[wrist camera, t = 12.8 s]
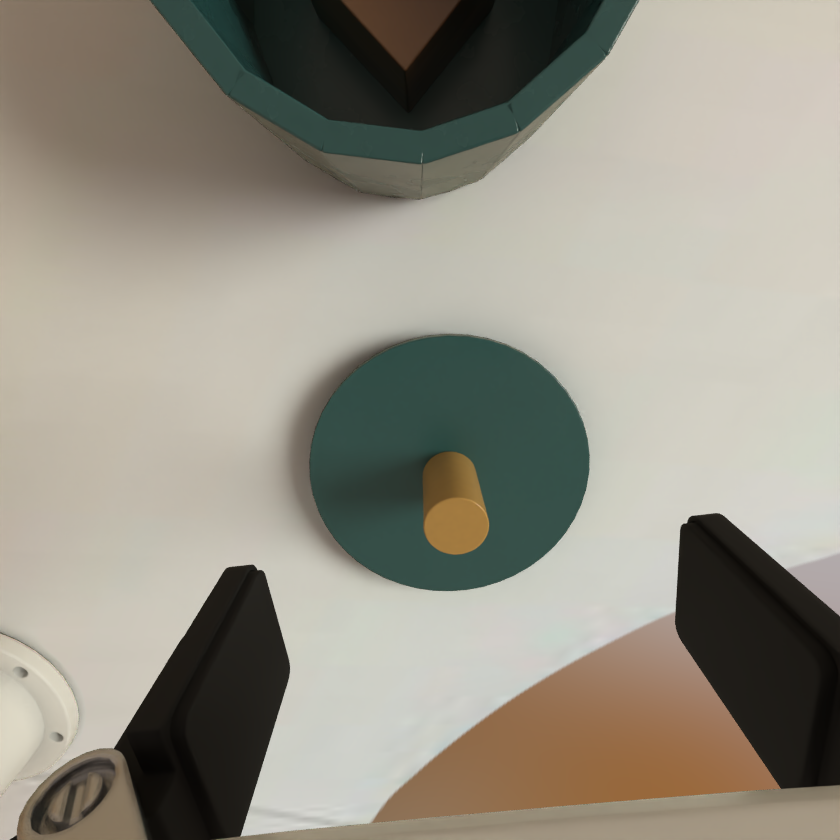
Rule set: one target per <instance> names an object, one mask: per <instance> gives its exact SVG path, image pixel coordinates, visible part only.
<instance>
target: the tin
mask: <svg viewBox="0 0 840 840" xmlns="http://www.w3.org/2000/svg"><path fill="white" fill-rule="evenodd" d="M150 1H151V3H152V4H153V5H154V6H155V8H156V9H157V10H158V11H159V13H160V14H161V15H162V16H163V18H164V19H165V20H166V21H167V22H168V24H169V25H170V26H171V27H172V29H173V30H174V31H175V32H176V34H177V35H178V36H179V37H180V39H181V40H182V41H183V42H184V44H185V45H186V46H187V47H188V49H189V50H190V51H191V52H192V54H193V55H194V56H195V57H196V59H197V60H198V61H199V62H200V63H201V65H202V66H203V67H204V68H205V70H206V71H207V72H208V73H209V75H210V76H211V77H212V78H213V80H214V81H215V82H216V83H217V85H218V86H219V87H220V88H221V90H222V91H223V92H224V93H225V95H227V96H228V97H229V98H230V99H231V100H233V101H234V102H235V103H236V104H238V105H239V106H240V107H241V108H242V109H244V110H245V111H246V112H247V113H249V114H250V115H251V116H252V117H253V118H255V119H256V120H257V121H258V122H259V123H261V124H262V125H263V126H264V127H266V128H267V129H268V130H269V131H270V132H272V133H273V134H274V135H275V136H277V137H278V138H279V139H280V140H281V141H283V142H284V143H285V144H286V145H288V146H289V147H290V148H291V149H292V150H294V151H295V152H296V153H297V154H299V155H300V156H301V157H302V158H303V159H305V160H306V161H308V162H309V163H311V164H313V165H314V166H316V167H318V168H320V169H321V170H323V171H325V172H326V173H328V174H329V175H331V176H332V177H334V178H336V179H338V180H340V181H342V182H343V183H345V184H347V185H348V186H350V187H352V188H354V189H355V190H357V191H360V192H361V193H369V194H377V195H382V196H387V197H396V198H412V199H424V198H427V197H430V196H434V195H438V194H442V193H446V192H450V191H452V190H455V189H457V188H460V187H462V186H465V185H468V184H471V183H474V182H477V181H479V180H481V179H482V178H484V177H485V176H486V175H487V174H488V173H489V172H491V171H492V170H493V169H494V168H495V167H496V166H498V165H499V164H500V163H501V162H503V161H504V160H505V159H506V158H507V157H508V156H509V155H510V154H511V153H513V152H514V151H515V150H516V149H517V148H518V147H519V146H521V145H522V144H523V143H524V142H525V141H526V140H528V139H529V138H530V137H531V136H532V135H533V134H534V133H535V132H536V131H537V129H538V128H539V127H540V126H541V125H542V124H543V123H544V122H545V121H546V120H547V119H548V118H549V117H550V116H551V115H552V114H553V113H554V112H555V111H556V110H557V109H558V108H559V106H560V105H561V104H562V103H563V102H564V101H565V100H566V99H567V98H568V97H569V96H570V95H571V94H572V93H573V92H574V91H575V90H576V89H577V88H578V87H579V86H580V85H581V83H582V82H583V81H584V80H585V79H586V78H587V77H588V76H589V75H590V74H591V73H592V72H593V71H594V70H595V69H596V68H597V67H598V66H599V65H600V64H601V63H602V62H603V60H604V59H605V58H606V57H607V56H608V55H609V53H610V51H611V50H612V48H613V46H614V44H615V43H616V41H617V39H618V37H619V35H620V34H621V32H622V30H623V28H624V27H625V25H626V23H627V21H628V20H629V18H630V16H631V14H632V12H633V11H634V9H635V7H636V5H637V4H638V2H639V0H495V2H494V5H493V8H492V10H491V11H490V13H489V14H488V15H487V16H486V18H485V19H484V20H483V21H482V23H481V24H480V25H479V26H478V28H477V29H476V30H475V31H474V32H473V34H472V35H471V36H470V37H469V39H468V40H467V41H466V42H465V44H464V45H463V46H462V47H461V49H460V50H459V51H458V52H457V54H456V55H455V56H454V57H453V59H452V60H451V61H450V62H449V64H448V65H447V66H446V67H445V68H444V70H443V71H442V72H441V73H440V75H439V76H438V77H437V78H436V80H435V81H434V82H433V83H432V85H431V86H430V87H429V88H428V90H427V91H426V92H425V93H424V95H423V96H422V97H421V98H420V99H419V101H418V102H417V103H416V104H415V106H414V107H413V108H412V109H411V111H410V112H406V110H405V109H404V108H403V107H402V106H401V105H400V104H399V103H398V102H397V101H396V100H395V99H394V98H393V97H392V95H391V94H390V93H389V92H388V91H387V90H386V89H385V88H384V87H383V86H382V85H381V84H380V83H379V81H378V80H377V79H376V78H375V77H374V76H373V75H372V74H371V73H370V72H369V71H368V70H367V69H366V68H365V66H364V65H363V64H362V63H361V62H360V61H359V60H358V59H357V58H356V57H355V56H354V55H353V54H352V53H351V51H350V50H349V49H348V48H347V47H346V46H345V45H344V44H343V43H342V42H341V41H340V40H339V39H338V37H337V36H336V35H335V34H334V33H333V32H332V31H331V30H330V29H329V28H328V27H327V26H326V25H325V24H324V22H323V21H322V20H321V19H320V18H319V17H318V16H317V14H316V11H315V9H314V7H313V4H312V2H311V0H150Z"/></svg>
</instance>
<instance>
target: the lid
mask: <svg viewBox="0 0 840 840" xmlns="http://www.w3.org/2000/svg"><path fill="white" fill-rule="evenodd" d="M589 456H590V455H589V447H588V438H587V435H586V431H585V427H584V424H583V421H582V418H581V416H580V414H579V412H578V409H577V407H576V405H575V403H574V402H573V400H572V399H571V397H570V395H569V394H568V392H567V391H566V389H565V388H564V387H563V386H562V385H561V384H560V382H559V381H558V380H557V379H556V378H555V377H554V376H553V375H552V374H551V373H550V372H549V371H548V370H546V369H545V368H544V367H543V366H542V365H541V364H540V363H539V362H537V361H536V360H534V359H533V358H531V357H529V356H528V355H526V354H525V353H523V352H522V351H519V350H517V349H515V348H513V347H511V346H509V345H507V344H504V343H501V342H498V341H495V340H492V339H489V338H484V337H478V336H473V335H464V334H441V335H430V336H424V337H420V338H416V339H411V340H408V341H405V342H402V343H399V344H397V345H394V346H391V347H389V348H387V349H385V350H384V351H382V352H380V353H378V354H376V355H374V356H373V357H371V358H370V359H368V360H367V361H366V362H364V363H363V364H361V365H360V366H358V367H357V368H356V369H355V370H354V371H353V372H352V373H351V374H350V375H349V376H348V377H347V378H346V379H345V380H344V381H343V382H342V383H341V385H340V386H339V387H338V388H337V390H336V391H335V392H334V393H333V395H332V397H331V398H330V400H329V402H328V403H327V405H326V407H325V408H324V410H323V412H322V414H321V416H320V419H319V421H318V423H317V426H316V428H315V432H314V436H313V440H312V444H311V452H310V461H309V464H310V481H311V487H312V492H313V496H314V499H315V502H316V505H317V508H318V511H319V513H320V515H321V517H322V519H323V521H324V523H325V525H326V527H327V528H328V530H329V531H330V533H331V534H332V535H333V537H334V538H335V540H336V541H337V542H338V543H339V544H340V545H341V546H342V548H343V549H344V550H345V551H346V552H347V553H349V554H350V555H351V556H352V557H353V558H354V559H355V560H356V561H358V562H359V563H361V564H362V565H363V566H365V567H366V568H368V569H369V570H371V571H373V572H375V573H377V574H378V575H380V576H382V577H384V578H386V579H389V580H392V581H394V582H397V583H399V584H403V585H406V586H410V587H414V588H419V589H426V590H433V591H457V590H468V589H474V588H479V587H484V586H487V585H490V584H494V583H497V582H500V581H502V580H505V579H507V578H509V577H512V576H514V575H516V574H518V573H519V572H521V571H523V570H525V569H526V568H528V567H530V566H531V565H532V564H534V563H535V562H537V561H538V560H539V559H541V558H542V557H543V556H544V555H545V554H546V553H547V552H549V551H550V550H551V549H552V548H553V547H554V546H555V545H556V544H557V542H558V541H559V540H560V539H561V538H562V536H563V535H564V534H565V533H566V531H567V530H568V528H569V527H570V525H571V523H572V522H573V520H574V519H575V516H576V514H577V512H578V510H579V508H580V506H581V503H582V500H583V497H584V494H585V491H586V487H587V481H588V475H589Z"/></svg>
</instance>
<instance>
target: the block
mask: <svg viewBox="0 0 840 840" xmlns="http://www.w3.org/2000/svg"><path fill="white" fill-rule="evenodd" d="M311 2H312V4H313V7H314V9H315V11H316V14H317V16H318V17H319V18H320V19H321V20H322V21H323V22H324V24H325V25H326V26H327V27H328V28H329V29H330V30H331V31H332V32H333V33H334V34H335V35H336V36H337V37H338V39H339V40H340V41H341V42H342V43H343V44H344V45H345V46H346V47H347V48H348V49H349V50H350V51H351V53H352V54H353V55H354V56H355V57H356V58H357V59H358V60H359V61H360V62H361V63H362V64H363V65H364V66H365V68H366V69H367V70H368V71H369V72H370V73H371V74H372V75H373V76H374V77H375V78H376V79H377V80H378V81H379V83H380V84H381V85H382V86H383V87H384V88H385V89H386V90H387V91H388V92H389V93H390V94H391V95H392V97H393V98H394V99H395V100H396V101H397V102H398V103H399V104H400V105H401V106H402V107H403V108H404V109H405V110H406V112H410V111H411V109H412V108H413V107H414V106H415V104H416V103H417V102H418V101H419V99H420V98H421V97H422V96H423V95H424V93H425V92H426V91H427V90H428V88H429V87H430V86H431V85H432V83H433V82H434V81H435V80H436V78H437V77H438V76H439V75H440V73H441V72H442V71H443V70H444V68H445V67H446V66H447V65H448V64H449V62H450V61H451V60H452V59H453V57H454V56H455V55H456V54H457V52H458V51H459V50H460V49H461V47H462V46H463V45H464V44H465V42H466V41H467V40H468V39H469V37H470V36H471V35H472V34H473V32H474V31H475V30H476V29H477V28H478V26H479V25H480V24H481V23H482V21H483V20H484V19H485V18H486V16H487V15H488V14H489V13H490V11H491V10H492V8H493V5H494V2H495V0H311Z"/></svg>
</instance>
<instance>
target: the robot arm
mask: <svg viewBox="0 0 840 840" xmlns="http://www.w3.org/2000/svg"><path fill="white" fill-rule="evenodd" d="M675 625H676V630H677V632H678V635H679V638H680V639H681V641H682V643H683V644H684V646H685V647H686V649H687V650H688V652H689V653H690V654H691V656H692V657H693V659H694V660H695V662H696V663H697V665H698V666H699V668H700V669H701V671H702V672H703V674H704V675H705V677H706V678H707V680H708V681H709V682H710V684H711V685H712V687H713V689H714V690H715V692H716V693H717V694H718V696H719V697H720V699H721V700H722V702H723V703H724V705H725V706H726V708H727V709H728V711H729V712H730V714H731V715H732V717H733V718H734V720H735V721H736V723H737V724H738V726H739V727H740V728H741V730H742V731H743V733H744V734H745V736H746V737H747V739H748V740H749V742H750V743H751V745H752V746H753V748H754V749H755V751H756V752H757V754H758V755H759V757H760V758H761V760H762V761H763V763H764V764H765V766H766V767H767V768H768V770H769V772H770V773H771V775H772V776H773V778H774V779H775V780H776V782H777V783H778V785H779V786H780V788H781V789H773V790H756V791H742V792H730V793H718V794H705V795H693V796H680V797H669V798H656V799H643V800H631V801H619V802H606V803H595V804H583V805H572V806H560V807H548V808H537V809H526V810H514V811H502V812H492V813H481V814H468V815H457V816H446V817H435V818H423V819H413V820H402V821H391V822H381V823H370V824H359V825H348V826H338V827H327V828H316V829H306V830H295V831H286V832H277V833H268V834H259V835H251V836H242V837H240V836H241V833H242V829H243V826H244V823H245V820H246V816H247V813H248V810H249V807H250V803H251V800H252V797H253V794H254V790H255V787H256V784H257V781H258V777H259V774H260V771H261V768H262V764H263V761H264V758H265V755H266V751H267V748H268V745H269V742H270V738H271V735H272V732H273V729H274V725H275V722H276V719H277V715H278V712H279V709H280V706H281V702H282V699H283V696H284V693H285V689H286V686H287V683H288V679H289V674H290V663H289V659H288V655H287V651H286V648H285V644H284V641H283V637H282V633H281V630H280V626H279V623H278V619H277V615H276V612H275V608H274V605H273V601H272V597H271V594H270V590H269V587H268V583H267V580H266V576H265V573H264V572H263V571H262V570H258V571H257V568H256V567H255V566H254V565H244V566H235V567H228V568H226V569H225V571H224V572H223V574H222V575H221V577H220V579H219V580H218V582H217V584H216V585H215V587H214V588H213V590H212V592H211V593H210V595H209V597H208V598H207V600H206V601H205V603H204V605H203V606H202V608H201V610H200V611H199V613H198V614H197V616H196V618H195V619H194V621H193V623H192V624H191V626H190V627H189V629H188V631H187V632H186V634H185V636H184V637H183V638H182V639H181V641H180V642H179V644H178V645H177V647H176V649H175V650H174V652H173V654H172V655H171V657H170V658H169V660H168V662H167V663H166V665H165V667H164V668H163V670H162V671H161V673H160V675H159V676H158V678H157V680H156V681H155V683H154V684H153V686H152V688H151V689H150V691H149V692H148V694H147V696H146V697H145V699H144V701H143V702H142V704H141V705H140V707H139V709H138V710H137V712H136V714H135V715H134V717H133V718H132V720H131V722H130V723H129V725H128V727H127V728H126V730H125V731H124V733H123V735H122V736H121V738H120V740H119V741H118V743H117V744H116V746H115V748H114V749H113V748H103V749H97V750H93V751H90V752H86V753H84V754H82V755H80V756H78V757H76V758H74V759H72V760H70V761H69V762H67V763H66V764H65V765H63V766H62V767H60V768H59V769H57V770H56V771H55V772H53V773H52V774H51V775H50V776H49V777H48V778H47V779H46V780H45V781H44V782H43V783H42V784H41V785H40V786H39V787H38V788H37V790H36V791H35V792H34V793H33V795H32V796H31V797H30V798H29V800H28V801H27V803H26V805H25V807H24V809H23V811H22V813H21V815H20V817H19V822H18V827H17V835H16V836H15V837H13V838H12V839H10V840H840V616H839V615H838V614H836V613H835V612H834V611H833V610H832V609H831V608H829V607H828V606H827V605H826V604H825V603H824V602H823V601H821V600H820V599H819V598H818V597H817V596H816V595H814V594H813V593H812V592H811V591H810V590H808V589H807V588H806V587H805V586H804V585H803V584H802V583H801V582H799V581H798V580H797V579H796V578H795V577H793V576H792V575H791V574H790V573H789V572H788V571H787V570H786V569H784V568H783V567H782V566H781V565H780V564H779V563H777V562H776V561H775V560H774V559H773V558H772V557H770V556H769V555H768V554H767V553H766V552H765V551H764V550H762V549H761V548H760V547H759V546H758V545H757V544H755V543H754V542H753V541H752V540H751V539H750V538H749V537H747V536H746V535H745V534H744V533H743V532H742V531H740V530H739V529H738V528H737V527H736V526H735V525H734V524H732V523H731V522H730V521H729V520H728V519H727V518H725V517H724V516H723V515H721V514H718V513H715V514H706V515H697V516H691V517H689V519H688V522H687V523H686V524H683V525H682V526H681V529H680V545H679V562H678V580H677V598H676V615H675ZM78 722H79V714H78V706H77V702H76V700H75V697H74V695H73V692H72V690H71V688H70V686H69V685H68V683H67V682H66V680H65V679H64V677H63V676H62V675H61V673H60V672H59V671H58V670H57V669H56V668H55V667H54V666H53V665H52V664H51V663H50V662H49V661H48V660H46V659H45V658H44V657H43V656H41V655H40V654H39V653H38V652H36V651H35V650H33V649H31V648H30V647H28V646H26V645H25V644H23V643H21V642H20V641H18V640H15V639H13V638H11V637H8V636H6V635H3V634H1V633H0V797H1V796H2V795H3V793H4V792H5V791H6V789H7V788H8V787H9V785H10V784H11V783H12V782H13V781H18V780H23V779H26V778H29V777H32V776H35V775H38V774H40V773H42V772H44V771H45V770H47V769H49V768H51V767H52V766H53V765H54V764H55V763H56V762H57V761H58V760H59V759H60V758H61V757H62V756H63V754H64V753H65V751H66V750H67V749H68V747H69V746H70V744H71V743H72V741H73V739H74V737H75V735H76V732H77V729H78Z"/></svg>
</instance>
